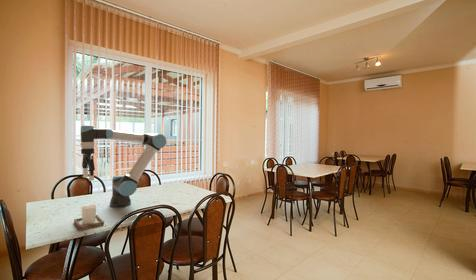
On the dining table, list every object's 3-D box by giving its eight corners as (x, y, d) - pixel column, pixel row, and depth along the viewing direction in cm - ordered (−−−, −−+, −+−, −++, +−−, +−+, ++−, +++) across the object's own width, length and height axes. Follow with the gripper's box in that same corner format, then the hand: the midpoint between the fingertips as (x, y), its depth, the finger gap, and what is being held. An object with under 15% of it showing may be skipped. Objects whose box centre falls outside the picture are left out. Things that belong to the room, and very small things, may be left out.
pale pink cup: (78, 223, 149) (78, 207, 148) (90, 219, 156) (90, 204, 156) (87, 225, 146) (87, 209, 145) (99, 221, 153) (99, 205, 153)
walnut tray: (97, 217, 161) (97, 214, 161) (103, 225, 150) (103, 221, 150) (74, 222, 152) (74, 219, 152) (79, 230, 141) (79, 226, 141)
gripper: (76, 147, 169) (77, 176, 170) (86, 149, 152) (87, 182, 153) (88, 146, 174) (89, 175, 175) (99, 148, 157) (100, 180, 158)
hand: (88, 178), depth 164 cm, fingers open, 13 cm apart
